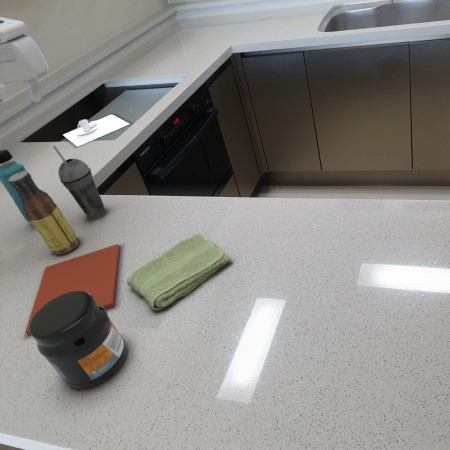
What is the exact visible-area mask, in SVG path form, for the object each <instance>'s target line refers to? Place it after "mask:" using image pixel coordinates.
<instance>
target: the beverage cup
mask: <svg viewBox="0 0 450 450" xmlns="http://www.w3.org/2000/svg"><path fill="white" fill-rule="evenodd" d="M52 148H53V149H54V150H55V152H56V153H57V154H58V156H59V157H60V159H61V160H62V162H61V164H60V166H59V167H58V178H59V181H60V183H61V184H62V185H63V187H65V189H66V190H67V191H68V192H69V193H70V195H71V196H72V198H73V199H74V201H75V202H76V204H77V205H78V207H79V208H80V209H81V210H82V212H83V213H84V215H85V216H86V217H87V218H88V220H92V221H93V220H97V219H99V218H101V217H103V216H104V215H105V214H106V212H107V210H106V208H105V205H104V202H103V200H102V197H101V196H100V193H99V190H98V188H97V186H96V183H95V181H94V176H93V173H92V169H91V168H90V167H89V166H88V164H87V163H85V162H84V161H83V160H81V159H79V158H68V159H65V158H64V156H63V155H62V154H61V152H60V151H59V149H58V148H57V146H56V145H53V146H52Z"/></svg>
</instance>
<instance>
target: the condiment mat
mask: <svg viewBox="0 0 450 450" xmlns="http://www.w3.org/2000/svg"><path fill="white" fill-rule="evenodd" d="M120 253H121V246H120V244H119V243H116V244H113V245H111V246H107V247H104V248H101V249H97V250H95V251H92V252H89V253H85V254H82V255H78V256H76V257H73V258H69V259H67V260H63V261H59V262H56V263H54V264H51V265H48V266H45V268H44V271H43V274H42V277H41V281H40V284H39V288H38V291H37V294H36V297H35V299H34V304H33V307H32V310H31V313H30V316H29V319H28V322H27V325H26V327H25V328H26V329H25V333H26V335H27V336H30V335H31V334H30V332H29V325H30V322H31V320H32V318H33V316H34V315H35V314H36V312H37V311H38V310H39V309H40V308H41V307H42V306H44V305H45V304H46V303H48V302H49V301H51V300H52V299H54V298H56V297H58V296H60V295H62V294H65V293H68V292H72V291H86V292H88V293H90V294H91V295H92V296H93V298H94V299H95V301H96V302H97V304H99V305H101V306H102V307H104V308H105V310H108V309H111V308H114V307H115V303H116V294H117V286H118V285H117V283H118V274H119V263H120Z"/></svg>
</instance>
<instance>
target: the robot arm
mask: <svg viewBox="0 0 450 450" xmlns="http://www.w3.org/2000/svg"><path fill="white" fill-rule="evenodd" d="M28 28H29V27H28V26H27V24H26V23H25V22H24V21H23V20H19V19H18V20H17V19H13V18H7V17H3V16H0V86H1V85H6V84H13V83H19V82H22V83H23V85H24V86H25V87H27V89H28V90H27V91H28V93H27V94H26V96H25V97H26V98H27V99H28V101H29V103H30V104H35V103H36V104H37V103H39V102H41V101H42V97H41V95H40V92H39V81H38V79H40V78H43V77H44V76H46V75H48V73H49V65H48V63H47V60H46V59H45V56H44V55H43V52H42V51H41V49H40V48H39V45H38V44H37V43H36V41H35V40H34V39H33V38H32V37H31V36H30V35H27V34H28V33H29V29H28ZM4 106H5V101H4V100H3V98H2V96H0V108H2V107H4Z"/></svg>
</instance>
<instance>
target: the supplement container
mask: <svg viewBox="0 0 450 450" xmlns="http://www.w3.org/2000/svg"><path fill="white" fill-rule="evenodd" d="M29 332H30V335H31V337H32V339H33V340H35V342H36V346H37V347H36V348H37V351H38V352H39V353H40V355H41V356H42V357H44V358H45V359H46V360H47V362H48V363H49V364H50V365H51V367H52V368H53V369H54V371H55V372H56V373H57V374H58V375H59V377H60V378H61V380H62V381H63V382H64V384H66V385H68V386H69V387H71V388H74V389H86V388H91V387H93V386H96V385H99V384H101V383H103V382H104V381H106V380H107V379H108V378H110V377H111V376H112V375H114V373H116V371H117V370H118V369H119V368H120V367H121V365H122V364H123V361H124V360H125V357H126V355H127V344H126V341H125V339H124V338H123V336H122V335H121V333H120V332H119V330H118V329H117V327H116V326H115V324H114V323H113V321H112V319H111V317H110V316H109V314H108V311H107V309H105V308H104V307H102V306H101V305H99V304H97V302H96V301H95V299H94V298H93V296H92V295H91V294H90V293H88V292H86V291H72V292H68V293H65V294H62V295H60V296H58V297H56V298H54V299H52V300H51V301H49V302H48V303H46V304H45V305H44V306H42V307H41V308H40V309H39V310H38V311H37V312H36V314H35V315H34V316H33V318H32V320H31V322H30V325H29Z"/></svg>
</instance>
